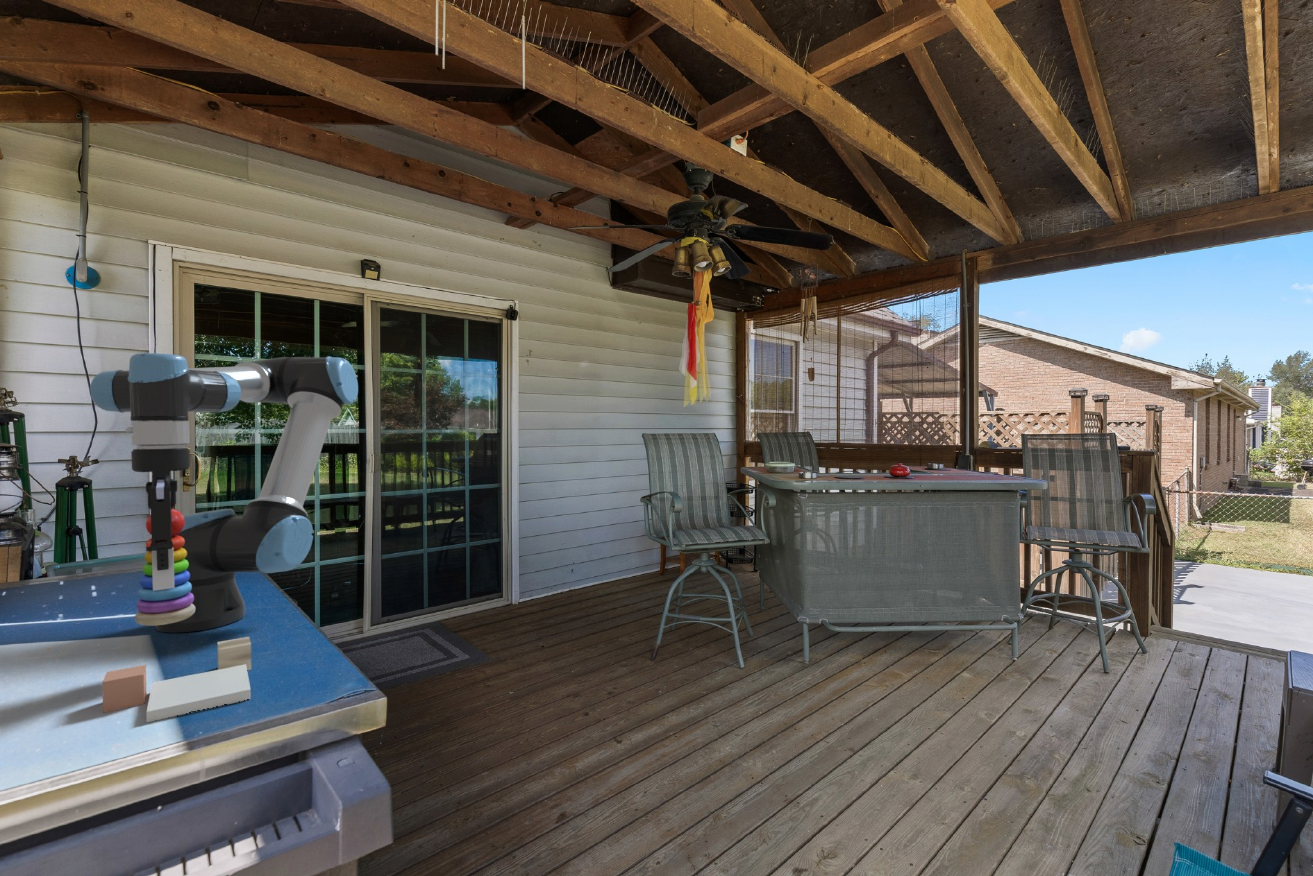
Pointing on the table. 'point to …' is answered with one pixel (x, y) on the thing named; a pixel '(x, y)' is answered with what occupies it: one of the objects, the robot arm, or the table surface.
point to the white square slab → (198, 692)
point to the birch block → (234, 653)
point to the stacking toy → (166, 602)
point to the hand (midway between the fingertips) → (165, 583)
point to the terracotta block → (124, 688)
